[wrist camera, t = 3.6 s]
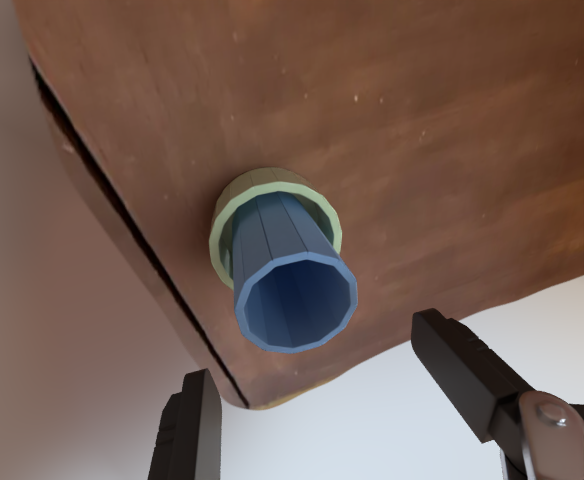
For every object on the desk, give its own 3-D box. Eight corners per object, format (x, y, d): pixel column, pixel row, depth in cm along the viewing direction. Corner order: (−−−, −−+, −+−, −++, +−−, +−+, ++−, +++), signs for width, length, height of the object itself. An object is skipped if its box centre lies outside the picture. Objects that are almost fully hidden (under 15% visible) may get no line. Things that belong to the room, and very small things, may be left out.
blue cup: (224, 248, 22) (221, 345, 13) (246, 178, 20) (260, 238, 11) (291, 264, 24) (328, 358, 15) (317, 202, 22) (377, 269, 13)
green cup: (200, 256, 22) (194, 289, 18) (231, 148, 19) (232, 160, 15) (298, 278, 25) (311, 311, 21) (339, 187, 22) (363, 205, 18)
